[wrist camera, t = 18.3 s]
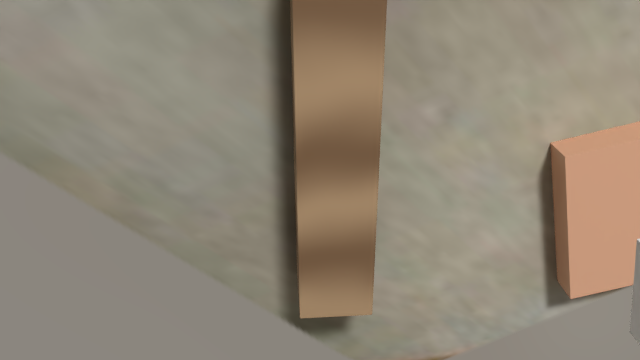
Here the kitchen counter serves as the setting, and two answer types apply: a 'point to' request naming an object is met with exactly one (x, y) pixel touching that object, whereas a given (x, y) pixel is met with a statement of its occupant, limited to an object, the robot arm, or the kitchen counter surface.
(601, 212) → the terracotta tile
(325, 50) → the walnut stick
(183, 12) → the kitchen counter surface
